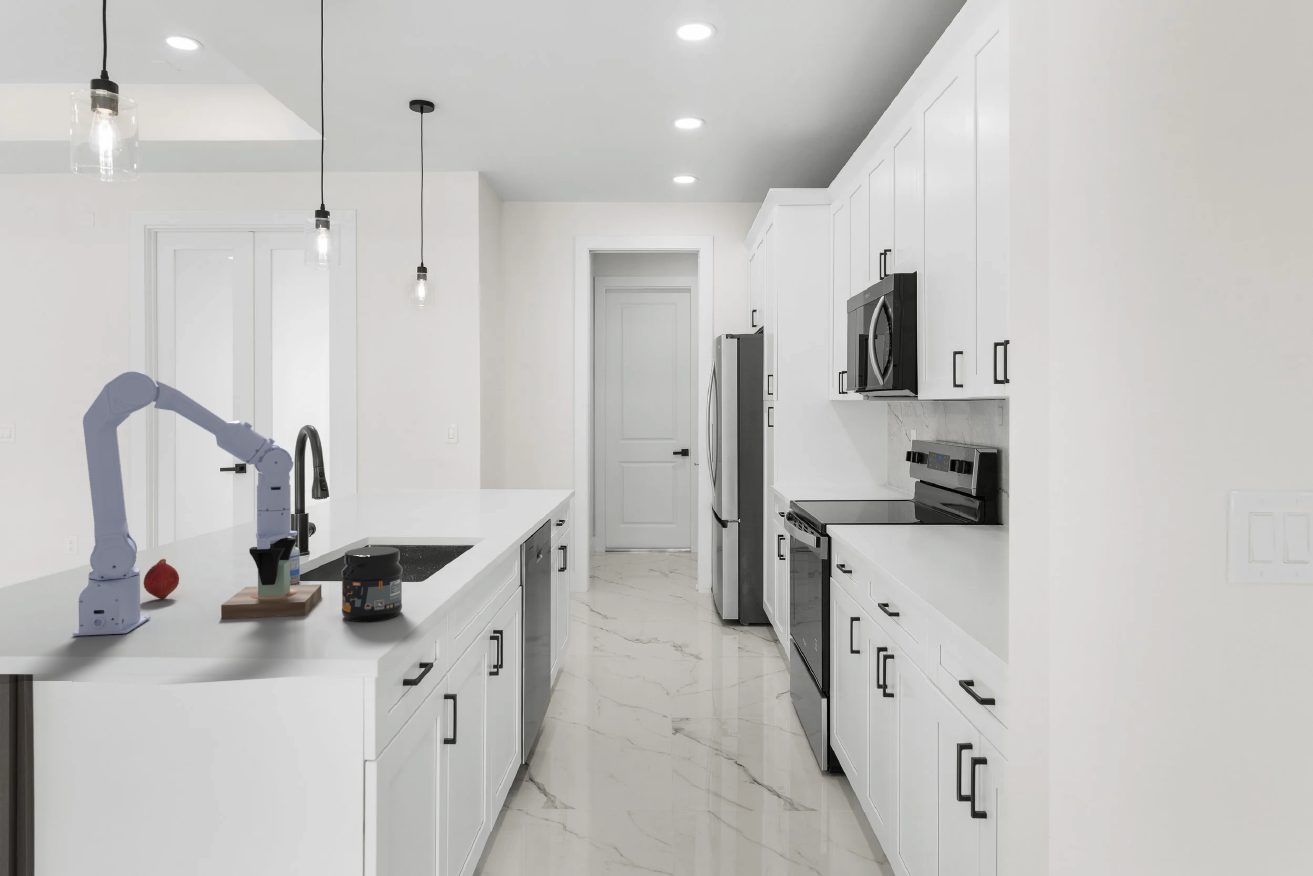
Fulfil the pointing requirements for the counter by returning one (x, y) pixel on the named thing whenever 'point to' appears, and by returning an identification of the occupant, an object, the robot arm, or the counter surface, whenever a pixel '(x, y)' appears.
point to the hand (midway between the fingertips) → (274, 580)
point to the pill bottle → (294, 565)
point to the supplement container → (371, 584)
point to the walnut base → (271, 603)
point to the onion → (161, 580)
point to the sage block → (277, 582)
